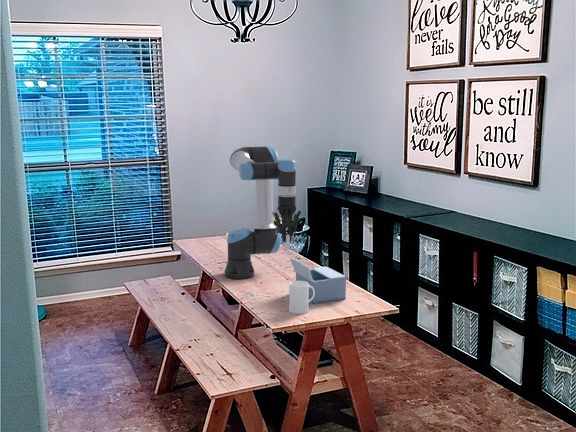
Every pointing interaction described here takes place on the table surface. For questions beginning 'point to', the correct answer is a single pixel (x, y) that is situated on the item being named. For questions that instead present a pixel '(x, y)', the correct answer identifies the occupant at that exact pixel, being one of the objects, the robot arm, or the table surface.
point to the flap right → (328, 272)
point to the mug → (299, 297)
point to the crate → (324, 288)
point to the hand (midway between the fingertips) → (286, 249)
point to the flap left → (301, 269)
